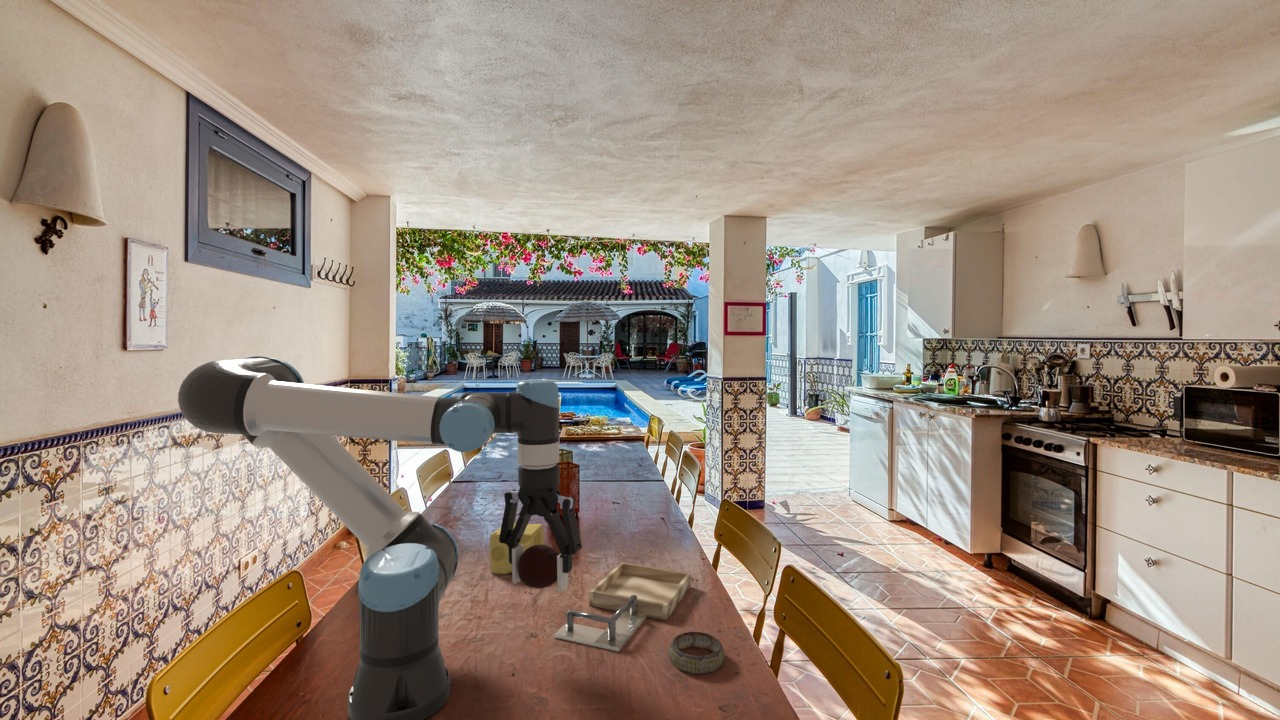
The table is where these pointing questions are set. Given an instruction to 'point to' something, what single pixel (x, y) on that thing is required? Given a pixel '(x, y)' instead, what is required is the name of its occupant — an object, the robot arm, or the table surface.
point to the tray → (641, 589)
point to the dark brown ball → (538, 566)
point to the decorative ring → (696, 662)
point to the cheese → (501, 550)
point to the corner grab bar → (610, 638)
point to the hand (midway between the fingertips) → (540, 584)
